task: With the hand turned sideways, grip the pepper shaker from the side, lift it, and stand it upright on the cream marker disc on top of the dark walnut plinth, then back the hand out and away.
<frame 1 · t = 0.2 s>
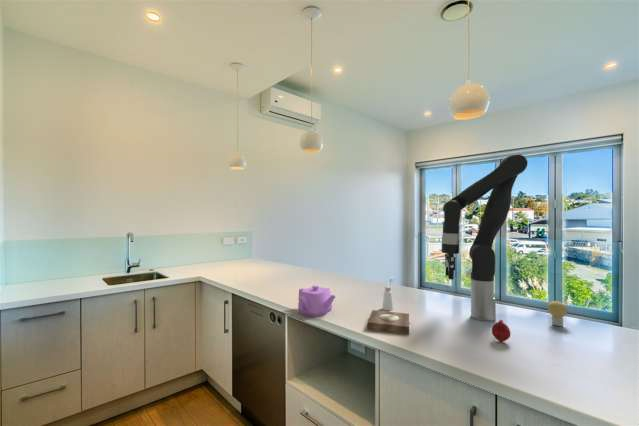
hand: (449, 277, 134), 17 cm above the worktop, tool pointing down, fingers open, 8 cm apart
teakettle: (315, 312, 138), on the worktop
light bulb: (557, 325, 121), on the worktop
walnut plinth: (389, 324, 121), on the worktop
pepper shaker: (387, 309, 142), on the worktop
onion: (501, 342, 104), on the worktop
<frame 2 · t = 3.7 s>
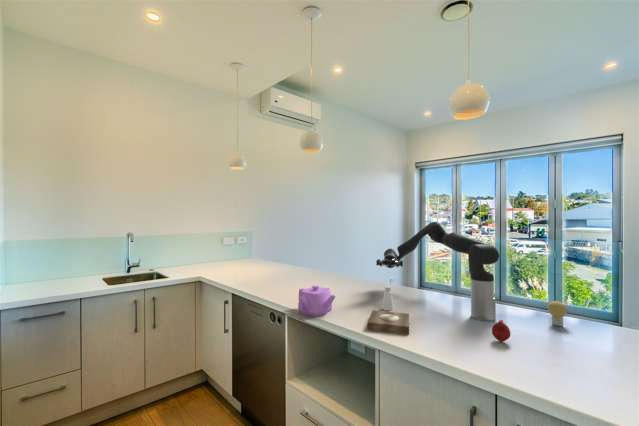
hand: (388, 264, 153), 20 cm above the worktop, tool horizontal, fingers open, 8 cm apart
nothing on the worktop moved.
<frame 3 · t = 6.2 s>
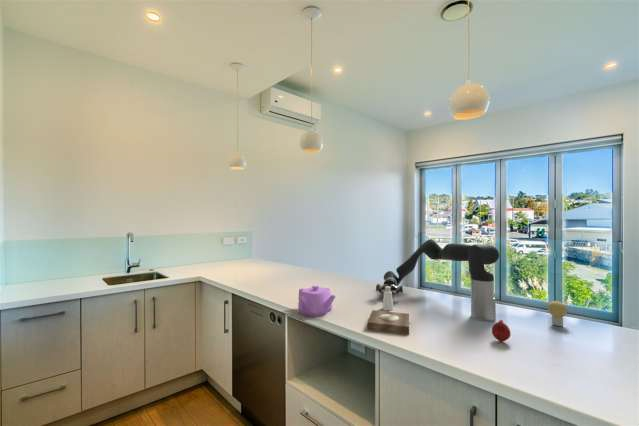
hand: (388, 291, 151), 6 cm above the worktop, tool horizontal, fingers open, 8 cm apart
nothing on the worktop moved.
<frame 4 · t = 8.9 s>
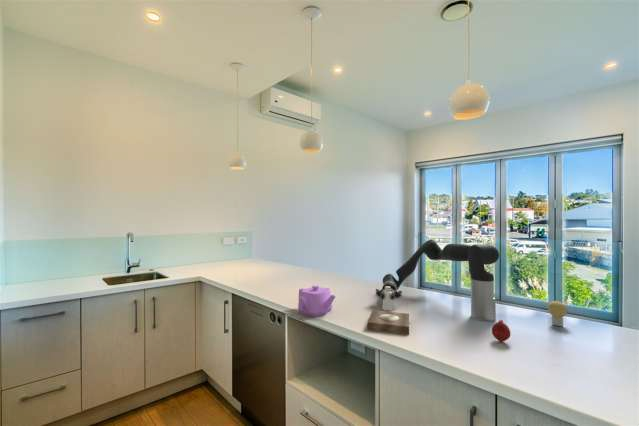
hand: (387, 297, 140), 7 cm above the worktop, tool horizontal, fingers closed on pepper shaker, 3 cm apart
pepper shaker: (387, 309, 142), on the worktop, touching gripper
everything else where it was.
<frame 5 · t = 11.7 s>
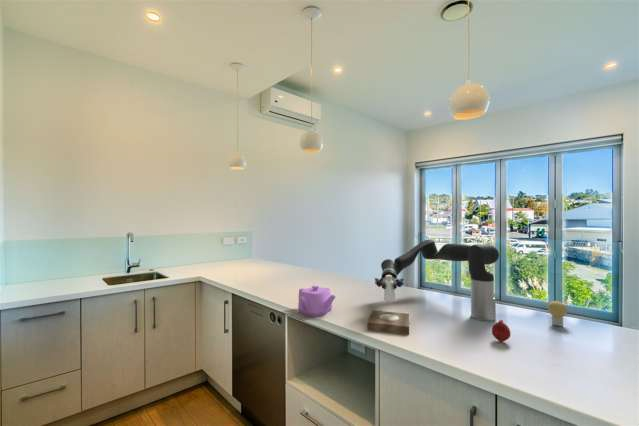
hand: (389, 287, 125), 15 cm above the worktop, tool horizontal, fingers closed on pepper shaker, 3 cm apart
pepper shaker: (389, 300, 128), point 8 cm above the worktop, touching gripper
everything else where it was.
when the fingers open (11 cm above the worktop, at t = 14.5 s): pepper shaker stays where it is, resting on walnut plinth.
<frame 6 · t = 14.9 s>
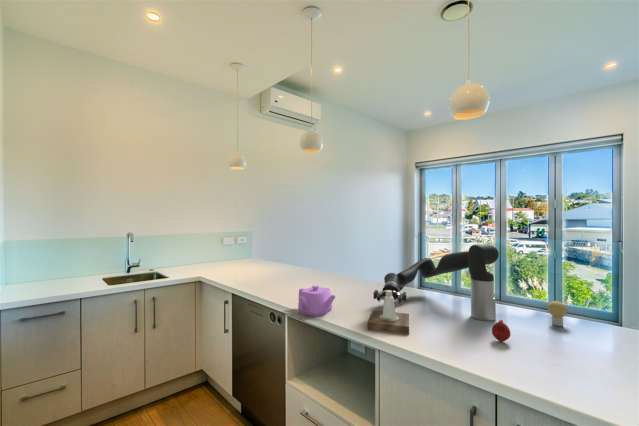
hand: (388, 300, 119), 11 cm above the worktop, tool horizontal, fingers open, 8 cm apart
pepper shaker: (389, 317, 121), point 3 cm above the worktop, touching walnut plinth
everything else where it was.
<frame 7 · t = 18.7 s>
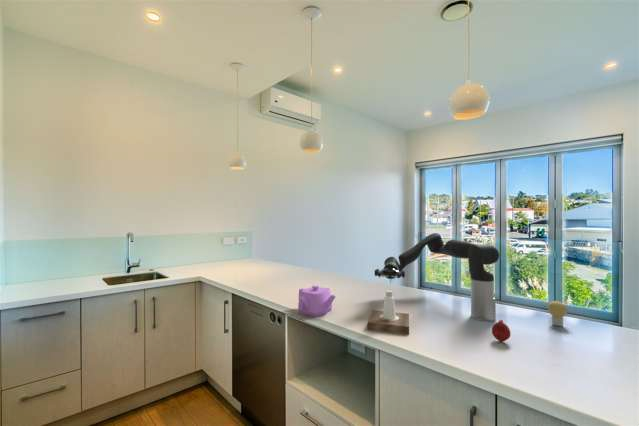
hand: (388, 275, 132), 19 cm above the worktop, tool horizontal, fingers open, 8 cm apart
nothing on the worktop moved.
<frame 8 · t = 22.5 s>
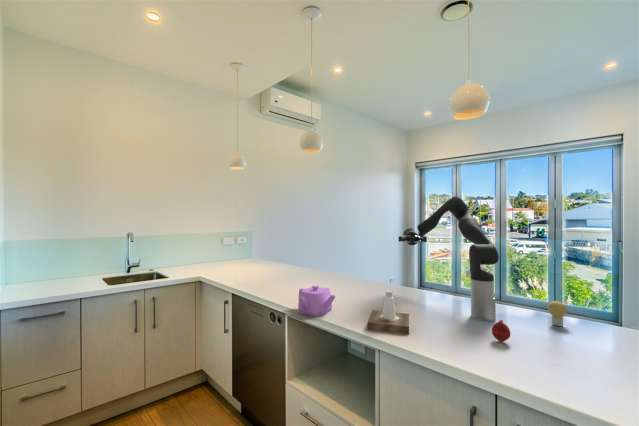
hand: (412, 240, 147), 34 cm above the worktop, tool horizontal, fingers open, 8 cm apart
nothing on the worktop moved.
at the end: pepper shaker inside the target area on the walnut plinth (0.0 cm from its centre), point 3.0 cm above the walnut plinth's base; pepper shaker tilted 0°; the gripper is holding nothing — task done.
